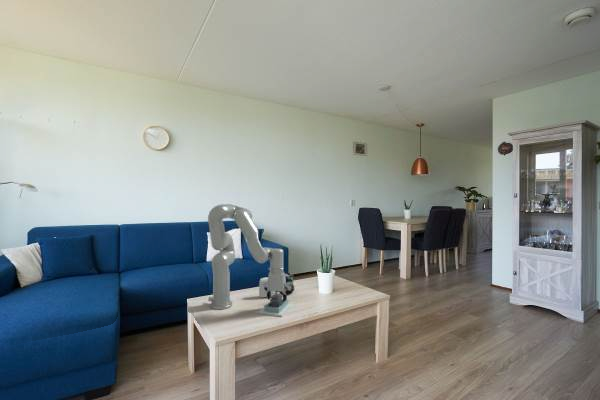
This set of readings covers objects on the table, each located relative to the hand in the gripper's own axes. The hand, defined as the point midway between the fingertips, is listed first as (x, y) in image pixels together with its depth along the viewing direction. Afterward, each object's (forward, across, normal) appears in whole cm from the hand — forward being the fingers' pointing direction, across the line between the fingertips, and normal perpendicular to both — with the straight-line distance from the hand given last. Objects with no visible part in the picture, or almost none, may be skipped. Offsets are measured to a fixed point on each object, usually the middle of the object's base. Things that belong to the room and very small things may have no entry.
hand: (276, 299), depth 166 cm
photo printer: (+6, -14, +17) cm, 23 cm away
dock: (+5, 0, 0) cm, 5 cm away
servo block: (+4, 0, 0) cm, 4 cm away
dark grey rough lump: (+6, -7, +29) cm, 30 cm away
